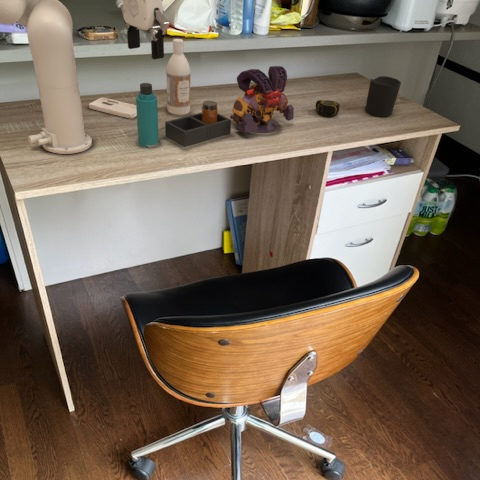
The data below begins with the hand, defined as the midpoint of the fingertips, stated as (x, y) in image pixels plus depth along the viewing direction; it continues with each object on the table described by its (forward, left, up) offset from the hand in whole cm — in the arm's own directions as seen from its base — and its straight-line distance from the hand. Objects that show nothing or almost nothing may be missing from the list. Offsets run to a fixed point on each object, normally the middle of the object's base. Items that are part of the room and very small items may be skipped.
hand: (145, 53), depth 127 cm
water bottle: (0, 0, -23) cm, 23 cm away
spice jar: (+17, -4, -22) cm, 28 cm away
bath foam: (+21, +14, -23) cm, 34 cm away
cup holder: (+14, -4, -23) cm, 27 cm away
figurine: (+33, -9, -23) cm, 41 cm away
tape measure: (+60, -12, -23) cm, 65 cm away
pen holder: (+76, -21, -23) cm, 82 cm away
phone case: (+6, +25, -23) cm, 34 cm away
